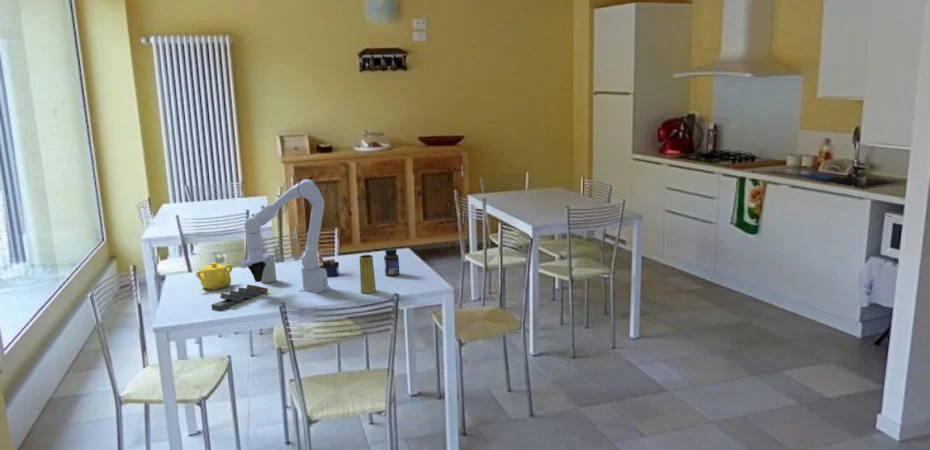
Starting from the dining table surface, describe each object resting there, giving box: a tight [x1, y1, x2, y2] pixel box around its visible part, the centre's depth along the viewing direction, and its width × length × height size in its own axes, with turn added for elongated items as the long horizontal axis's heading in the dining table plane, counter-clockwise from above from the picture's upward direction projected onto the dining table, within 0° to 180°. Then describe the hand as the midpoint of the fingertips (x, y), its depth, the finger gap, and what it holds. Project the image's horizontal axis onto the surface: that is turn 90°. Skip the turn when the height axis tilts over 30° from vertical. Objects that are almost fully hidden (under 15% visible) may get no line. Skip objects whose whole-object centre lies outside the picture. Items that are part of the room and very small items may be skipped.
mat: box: [228, 287, 283, 310], centre depth 276 cm, size 25×12×1 cm, turn 151°
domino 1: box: [211, 299, 235, 312], centre depth 264 cm, size 2×4×7 cm
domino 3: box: [229, 290, 252, 299], centre depth 272 cm, size 2×4×7 cm
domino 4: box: [237, 286, 260, 296], centre depth 275 cm, size 2×4×7 cm
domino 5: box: [246, 284, 269, 293], centre depth 279 cm, size 2×4×7 cm
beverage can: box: [260, 252, 277, 284], centre depth 297 cm, size 6×6×12 cm
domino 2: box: [219, 292, 243, 303], centre depth 268 cm, size 2×4×7 cm
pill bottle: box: [383, 248, 400, 277], centre depth 301 cm, size 6×6×11 cm
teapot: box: [195, 262, 233, 291], centre depth 292 cm, size 14×13×10 cm
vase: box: [359, 254, 377, 295], centre depth 277 cm, size 6×6×14 cm
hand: (258, 281), depth 279 cm, fingers closed
